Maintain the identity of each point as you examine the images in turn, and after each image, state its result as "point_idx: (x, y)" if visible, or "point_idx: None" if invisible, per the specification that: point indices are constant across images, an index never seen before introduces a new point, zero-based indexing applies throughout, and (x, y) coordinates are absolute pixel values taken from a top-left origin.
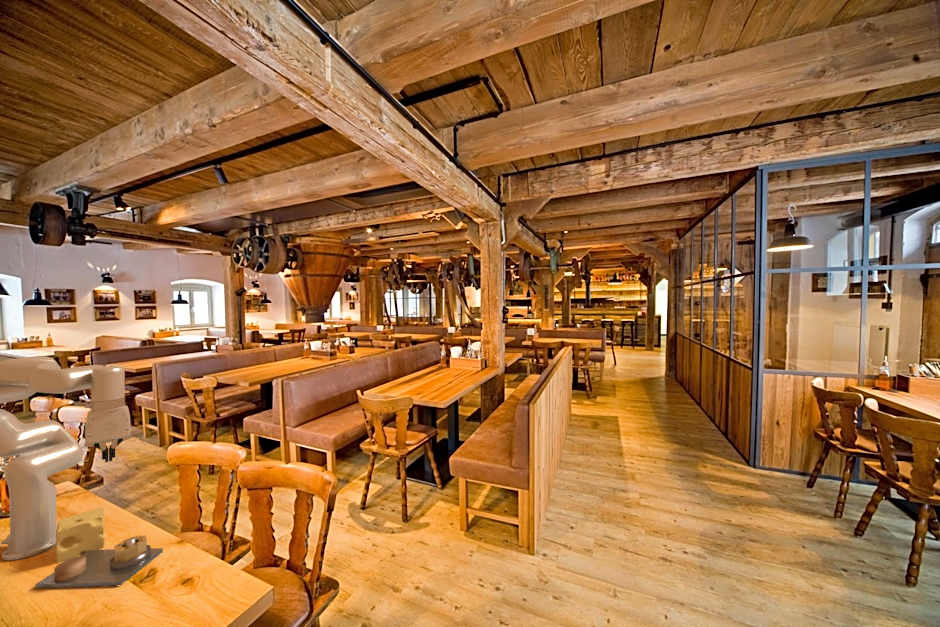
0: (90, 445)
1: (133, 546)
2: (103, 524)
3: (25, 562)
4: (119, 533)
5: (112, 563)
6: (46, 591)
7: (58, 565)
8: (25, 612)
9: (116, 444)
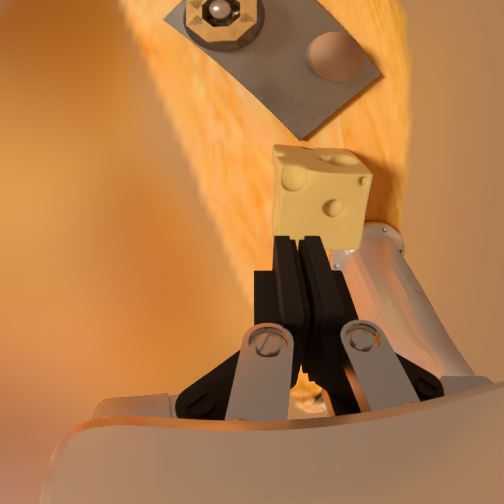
0: (459, 388)
1: None
2: (274, 212)
3: (383, 203)
4: (243, 191)
5: (260, 3)
6: (362, 43)
7: (357, 69)
8: (384, 2)
9: (242, 360)
